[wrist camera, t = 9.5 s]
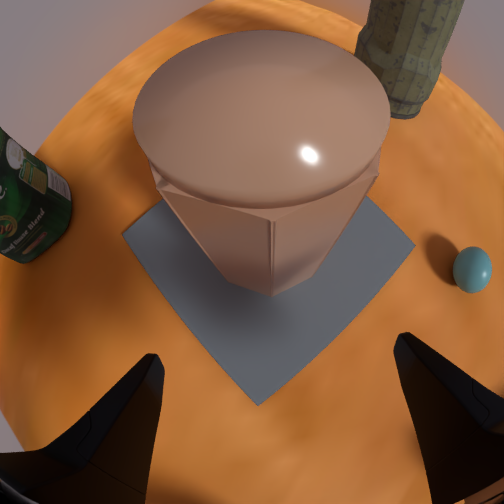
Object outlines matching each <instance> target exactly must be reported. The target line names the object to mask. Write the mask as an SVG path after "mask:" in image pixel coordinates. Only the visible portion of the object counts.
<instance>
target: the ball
mask: <svg viewBox="0 0 504 504" xmlns="http://www.w3.org/2000/svg"><path fill="white" fill-rule="evenodd" d="M491 274H492V265H491V261H490V258H489V256H488V255H487V253H486V252H485V251H484V250H482V249H481V248H478V247H467V248H465V249H463V250H462V251H461V252H460V253H459V254H458V255H457V257H456V259H455V261H454V265H453V276H454V280H455V282H456V284H457V285H458V287H459V288H460V289H461V290H463V291H465V292H468V293H476V292H479V291H481V290H482V289H484V288H485V287H486V285H487V284H488V282H489V280H490V278H491Z"/></svg>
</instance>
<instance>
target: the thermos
mask: <svg viewBox="0 0 504 504" xmlns="http://www.w3.org/2000/svg"><path fill="white" fill-rule="evenodd" d="M463 3H464V0H371V4H370V9H369V14H368V19H367V24H366V25H365V26H364V27H363V29H362V30H361V31H360V33H359V35H358V40H357V44H356V49H355V54H354V56H355V57H356V58H357V59H359V60H360V61H361V62H362V63H364V64H365V65H366V66H367V67H368V68H369V69H370V70H371V71H372V72H373V73H374V75H375V76H376V77H377V78H378V80H379V81H380V83H381V84H382V86H383V88H384V90H385V92H386V94H387V97H388V101H389V104H390V115H391V116H390V117H393V118H397V119H410V118H414V117H415V116H416V115H418V114H419V112H420V109H421V106H422V105H423V103H424V102H425V101H426V100H427V99H428V98H429V96H430V94H431V92H432V90H433V88H434V86H435V84H436V82H437V80H438V77H439V74H440V71H441V58H442V56H443V54H444V51H445V49H446V47H447V44H448V42H449V40H450V37H451V35H452V32H453V30H454V27H455V25H456V22H457V20H458V17H459V14H460V12H461V9H462V6H463Z"/></svg>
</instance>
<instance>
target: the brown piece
mask: <svg viewBox="0 0 504 504" xmlns="http://www.w3.org/2000/svg"><path fill="white" fill-rule="evenodd" d="M390 116H391V115H390V104H389V101H388V97H387V94H386V92H385V90H384V88H383V86H382V84H381V83H380V81H379V80H378V78H377V77H376V76H375V75H374V73H373V72H372V71H371V70H370V69H369V68H368V67H367V66H366V65H365V64H364V63H362V62H361V61H360V60H359V59H357V58H356V57H355V56H353V55H352V54H350V53H349V52H347V51H345V50H344V49H342V48H340V47H338V46H336V45H334V44H331V43H329V42H327V41H324V40H321V39H318V38H315V37H312V36H308V35H304V34H300V33H294V32H287V31H278V30H252V31H242V32H235V33H230V34H225V35H221V36H217V37H214V38H211V39H208V40H205V41H202V42H200V43H197V44H195V45H193V46H191V47H189V48H187V49H185V50H183V51H181V52H179V53H178V54H176V55H175V56H173V57H172V58H170V59H169V60H168V61H166V62H165V63H164V64H163V65H161V66H160V67H159V68H158V69H157V70H156V71H155V72H154V73H153V74H152V75H151V77H150V78H149V79H148V80H147V81H146V83H145V84H144V86H143V87H142V89H141V91H140V93H139V95H138V97H137V99H136V102H135V106H134V110H133V129H134V133H135V136H136V139H137V141H138V143H139V145H140V147H141V148H142V150H143V151H144V153H145V154H146V156H147V158H148V161H149V164H150V167H151V171H152V174H153V177H154V180H155V183H156V189H157V191H158V192H159V194H160V195H161V196H162V198H163V199H164V200H165V202H166V203H167V204H168V206H169V207H170V208H171V210H172V211H173V212H174V214H175V215H176V216H177V218H178V219H179V220H180V221H181V223H182V224H183V225H184V227H185V228H186V229H187V231H188V232H189V233H190V235H191V236H192V237H193V238H194V240H195V241H196V242H197V244H198V245H199V246H200V247H201V249H202V250H203V251H204V253H205V254H206V255H207V256H208V258H209V259H210V260H211V261H212V263H213V264H214V265H215V266H216V268H217V269H218V270H219V271H220V273H221V274H222V275H223V276H224V278H225V279H226V280H227V281H228V282H229V283H232V284H235V285H238V286H241V287H244V288H247V289H249V290H252V291H255V292H258V293H261V294H264V295H267V296H270V297H273V296H275V295H277V294H279V293H281V292H283V291H285V290H287V289H289V288H291V287H293V286H295V285H297V284H299V283H301V282H303V281H305V280H307V279H309V278H311V277H313V275H314V274H315V273H316V271H317V270H318V268H319V267H320V265H321V264H322V263H323V261H324V260H325V258H326V257H327V255H328V254H329V252H330V251H331V249H332V248H333V246H334V245H335V243H336V242H337V240H338V239H339V237H340V236H341V234H342V233H343V231H344V230H345V228H346V227H347V225H348V224H349V222H350V221H351V219H352V217H353V216H354V214H355V213H356V211H357V210H358V208H359V206H360V205H361V203H362V202H363V200H364V198H365V197H366V195H367V194H368V192H369V190H370V189H371V187H372V185H373V184H374V182H375V180H376V179H377V177H378V175H379V174H380V173H379V172H378V170H379V161H380V152H381V145H382V143H383V141H384V139H385V136H386V134H387V131H388V128H389V124H390Z"/></svg>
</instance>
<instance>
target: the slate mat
mask: <svg viewBox="0 0 504 504" xmlns="http://www.w3.org/2000/svg"><path fill="white" fill-rule="evenodd" d="M122 236H123V237H124V239H125V240H126V242H127V243H128V245H129V246H130V248H131V249H132V251H133V252H134V254H135V256H136V257H137V258H138V260H139V261H140V263H141V264H142V266H143V267H144V269H145V270H146V272H147V273H148V274H149V276H150V277H151V279H152V280H153V282H154V283H155V284H156V286H157V287H158V289H159V290H160V291H161V293H162V294H163V295H164V297H165V298H166V299H167V301H168V302H169V303H170V305H171V306H172V307H173V309H174V310H175V311H176V313H177V314H178V315H179V316H180V318H181V319H182V320H183V322H184V323H185V324H186V325H187V327H188V328H189V329H190V330H191V332H192V333H193V334H194V335H195V337H196V338H197V339H198V340H199V341H200V343H201V344H202V345H203V346H204V347H205V349H206V350H207V351H208V352H209V353H210V354H211V356H212V357H213V358H214V359H215V360H216V361H217V363H218V364H219V365H220V366H221V367H222V368H223V369H224V371H225V372H226V373H227V374H228V375H229V376H230V377H231V378H232V379H233V380H234V382H235V383H236V384H237V385H238V386H239V387H240V388H241V389H242V390H243V391H244V392H245V393H246V394H247V395H248V396H249V398H250V399H251V400H252V401H253V402H254V403H255V404H256V405H257V406H259V405H260V404H261V403H262V402H264V401H265V400H266V399H268V398H269V397H270V396H271V395H272V394H274V393H275V392H276V391H277V390H279V389H280V388H281V387H282V386H283V385H285V384H286V383H287V382H288V381H289V380H290V379H292V378H293V377H294V376H295V375H296V374H297V373H298V372H300V371H301V370H302V369H303V368H304V367H305V366H306V365H307V364H308V363H310V362H311V361H312V360H313V359H314V358H315V357H316V356H317V355H318V354H319V353H320V352H321V351H322V350H323V349H324V348H325V347H327V346H328V345H329V344H330V343H331V342H332V341H333V340H334V339H335V338H336V337H337V336H338V335H339V334H340V333H341V332H342V331H343V330H344V329H345V328H346V327H347V326H348V324H349V323H350V322H351V321H352V320H353V319H354V318H355V317H356V316H357V315H358V314H359V313H360V312H361V311H362V310H363V308H364V307H365V306H366V305H367V304H368V303H369V302H370V301H371V300H372V298H373V297H374V296H375V295H376V294H377V293H378V292H379V291H380V289H381V288H382V287H383V286H384V285H385V283H386V282H387V281H388V280H389V279H390V278H391V276H392V275H393V274H394V273H395V271H396V270H397V269H398V268H399V266H400V265H401V264H402V263H403V261H404V260H405V259H406V258H407V256H408V255H409V254H410V252H411V251H412V250H413V248H414V247H415V246H416V245H415V244H414V243H413V242H412V241H411V240H410V239H409V238H408V237H407V236H406V234H405V233H404V232H403V231H402V230H401V229H400V228H399V227H398V226H397V225H396V224H395V223H394V222H393V221H392V220H391V219H390V218H389V217H388V216H387V215H386V214H385V213H384V212H383V211H382V210H381V209H380V208H379V207H378V206H377V205H376V204H375V203H374V202H373V201H372V200H371V199H369V198H368V197H367V196H366V197H365V198H364V200H363V202H362V203H361V205H360V206H359V208H358V210H357V211H356V213H355V214H354V216H353V217H352V219H351V221H350V222H349V224H348V225H347V227H346V228H345V230H344V231H343V233H342V234H341V236H340V237H339V239H338V240H337V242H336V243H335V245H334V246H333V248H332V249H331V251H330V252H329V254H328V255H327V257H326V258H325V260H324V261H323V263H322V264H321V265H320V267H319V268H318V270H317V271H316V273H315V274H314V275H313V277H311V278H309V279H307V280H305V281H303V282H301V283H299V284H297V285H295V286H293V287H291V288H289V289H287V290H285V291H283V292H281V293H279V294H277V295H275V296H273V297H270V296H267V295H264V294H261V293H258V292H255V291H252V290H249V289H247V288H244V287H241V286H238V285H235V284H232V283H229V282H228V281H227V280H226V279H225V278H224V276H223V275H222V274H221V273H220V271H219V270H218V269H217V268H216V266H215V265H214V264H213V263H212V261H211V260H210V259H209V258H208V256H207V255H206V254H205V253H204V251H203V250H202V249H201V247H200V246H199V245H198V244H197V242H196V241H195V240H194V238H193V237H192V236H191V235H190V233H189V232H188V231H187V229H186V228H185V227H184V225H183V224H182V223H181V221H180V220H179V219H178V218H177V216H176V215H175V214H174V212H173V211H172V210H171V208H170V207H169V206H168V204H167V203H166V202H165V200H164V199H162V200H161V201H159V202H158V203H157V204H156V205H155V206H154V207H152V208H151V209H150V210H149V211H148V212H147V213H145V214H144V215H143V216H142V217H141V218H140V219H139V220H138V221H136V222H135V223H134V224H133V225H132V226H131V227H130V228H129V229H128V230H126V231H125V232H124V233H123V234H122Z"/></svg>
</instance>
